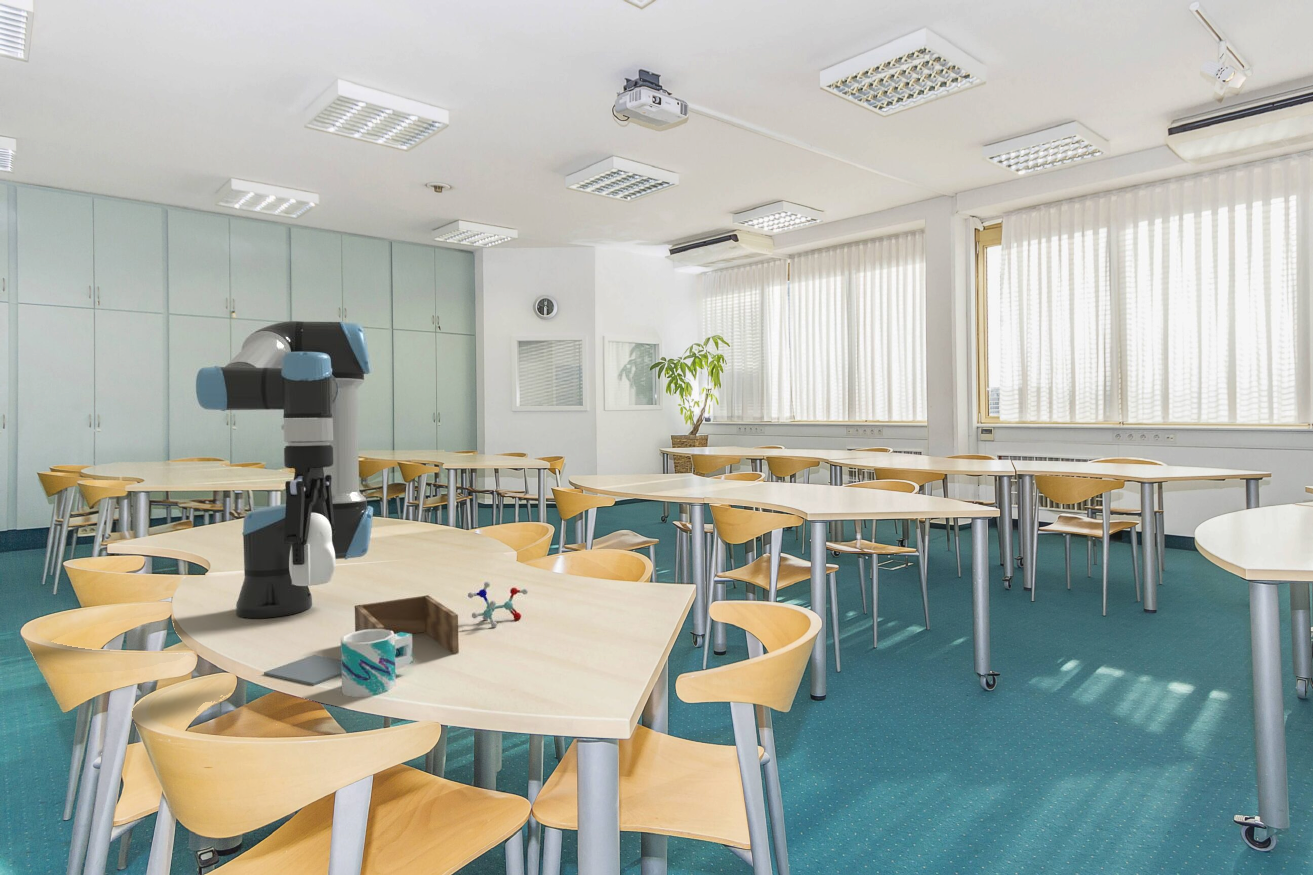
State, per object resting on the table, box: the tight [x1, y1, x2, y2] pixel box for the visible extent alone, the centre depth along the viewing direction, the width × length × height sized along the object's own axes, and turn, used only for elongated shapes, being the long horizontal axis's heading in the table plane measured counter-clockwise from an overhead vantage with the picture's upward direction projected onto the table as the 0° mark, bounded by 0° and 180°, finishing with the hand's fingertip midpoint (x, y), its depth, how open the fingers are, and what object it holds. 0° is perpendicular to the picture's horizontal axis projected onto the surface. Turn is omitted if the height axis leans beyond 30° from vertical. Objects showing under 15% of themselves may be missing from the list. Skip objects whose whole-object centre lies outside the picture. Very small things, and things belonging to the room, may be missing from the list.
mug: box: [340, 629, 414, 698], centre depth 121 cm, size 8×12×8 cm
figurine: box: [289, 513, 337, 587], centre depth 126 cm, size 7×8×12 cm
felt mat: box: [263, 654, 342, 686], centre depth 127 cm, size 12×10×1 cm
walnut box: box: [354, 594, 460, 655], centre depth 139 cm, size 18×14×7 cm
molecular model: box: [467, 581, 529, 629], centre depth 156 cm, size 12×10×10 cm
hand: (311, 577), depth 126 cm, fingers closed on figurine, 8 cm apart
